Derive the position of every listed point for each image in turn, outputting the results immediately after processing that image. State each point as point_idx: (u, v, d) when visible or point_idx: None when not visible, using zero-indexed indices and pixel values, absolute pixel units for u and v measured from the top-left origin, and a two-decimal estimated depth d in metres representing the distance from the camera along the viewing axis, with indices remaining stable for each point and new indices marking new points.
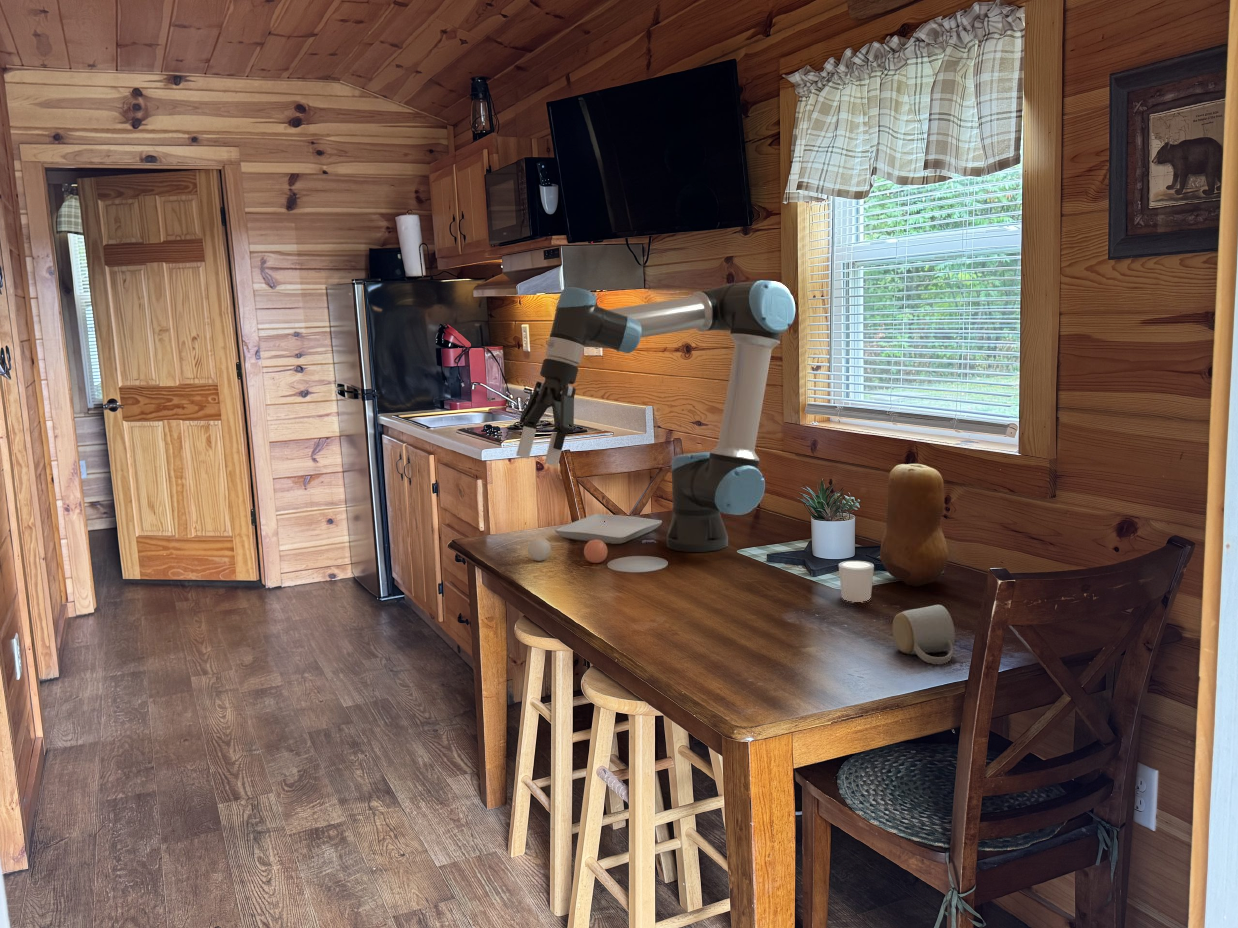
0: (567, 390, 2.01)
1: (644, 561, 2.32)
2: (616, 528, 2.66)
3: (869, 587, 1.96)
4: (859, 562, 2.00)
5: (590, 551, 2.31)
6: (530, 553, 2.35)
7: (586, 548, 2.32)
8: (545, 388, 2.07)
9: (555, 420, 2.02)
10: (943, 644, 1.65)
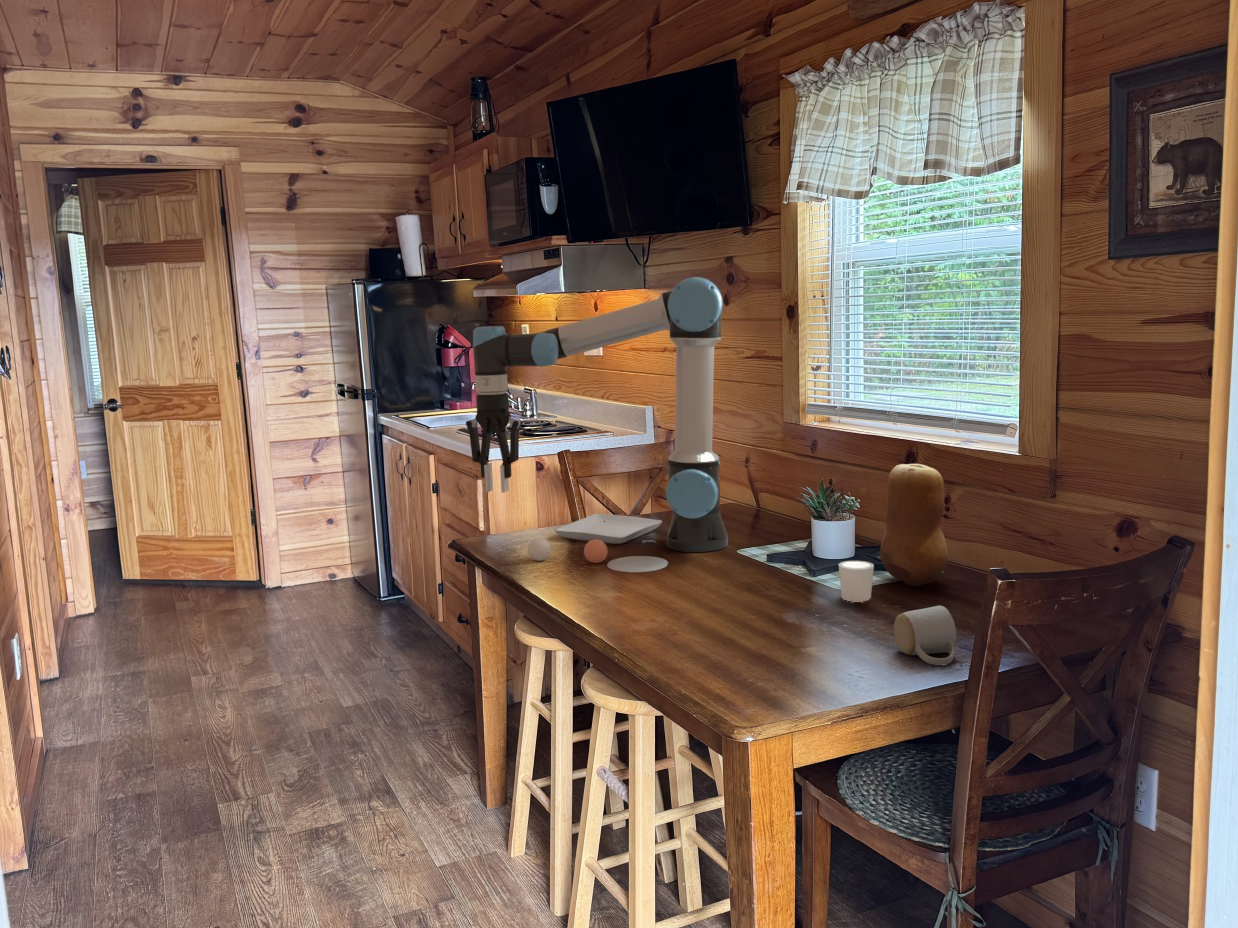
0: (517, 425, 2.33)
1: (644, 561, 2.32)
2: (616, 528, 2.66)
3: (869, 587, 1.96)
4: (859, 562, 2.00)
5: (590, 551, 2.31)
6: (530, 553, 2.35)
7: (586, 548, 2.32)
8: (486, 419, 2.33)
9: (502, 452, 2.34)
10: (945, 645, 1.64)
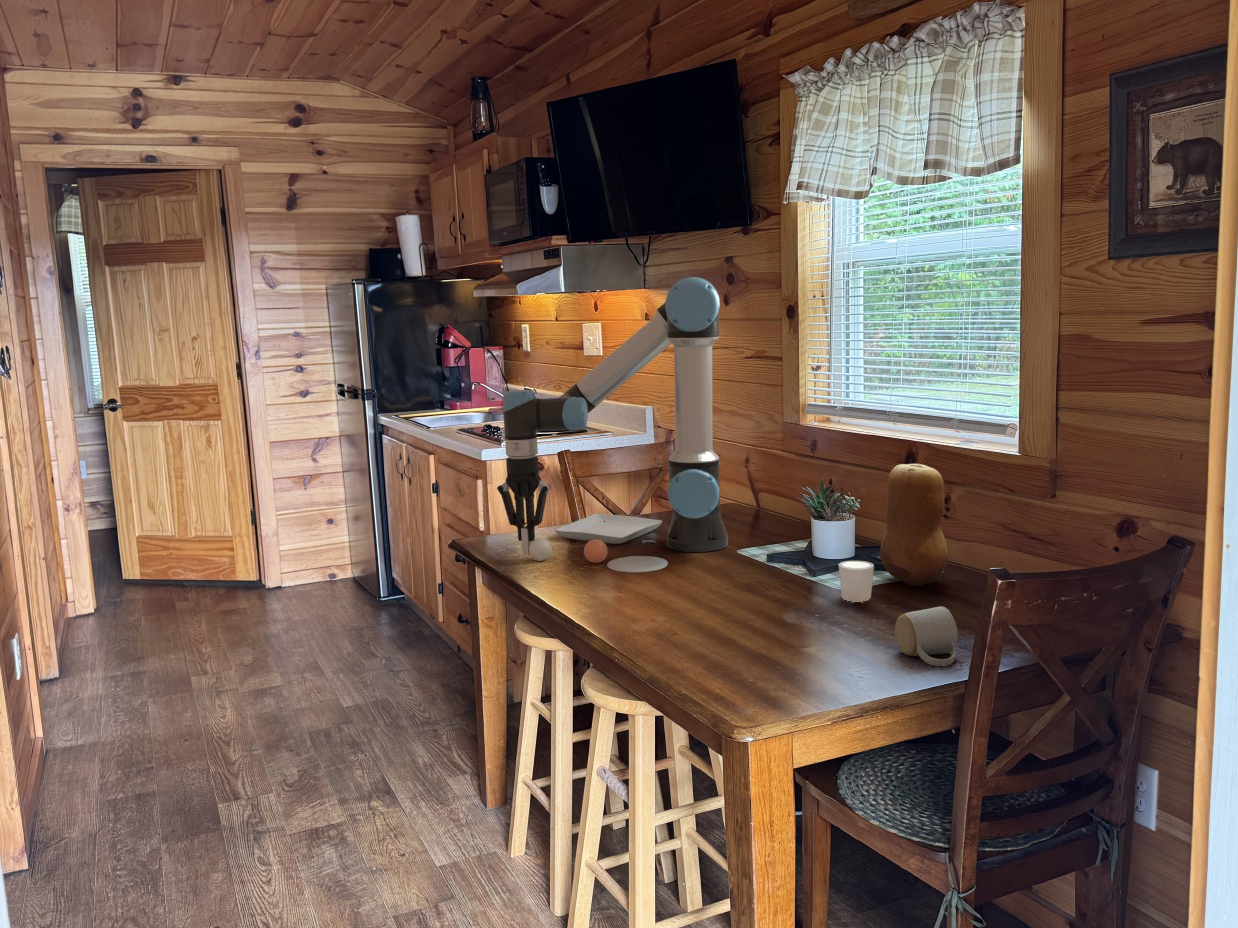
0: (546, 491, 2.33)
1: (644, 561, 2.32)
2: (616, 528, 2.66)
3: (869, 587, 1.96)
4: (859, 562, 2.00)
5: (590, 551, 2.31)
6: (531, 553, 2.35)
7: (586, 548, 2.32)
8: (516, 482, 2.34)
9: (527, 516, 2.35)
10: (946, 646, 1.64)
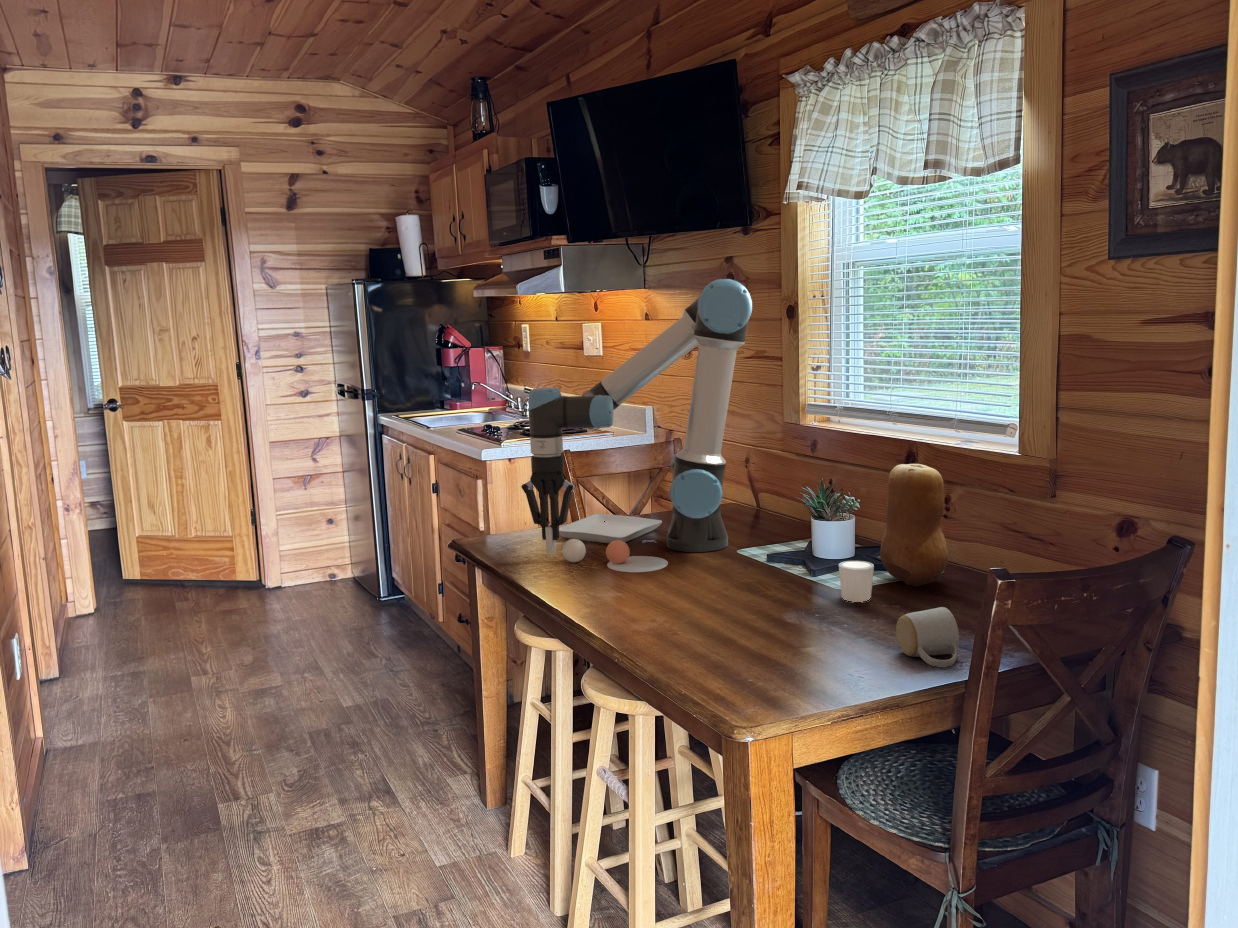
0: (572, 490, 2.32)
1: (644, 561, 2.32)
2: (616, 528, 2.66)
3: (869, 587, 1.96)
4: (859, 562, 2.00)
5: (617, 554, 2.29)
6: (575, 548, 2.32)
7: (622, 549, 2.29)
8: (541, 480, 2.32)
9: (552, 514, 2.33)
10: (947, 647, 1.63)
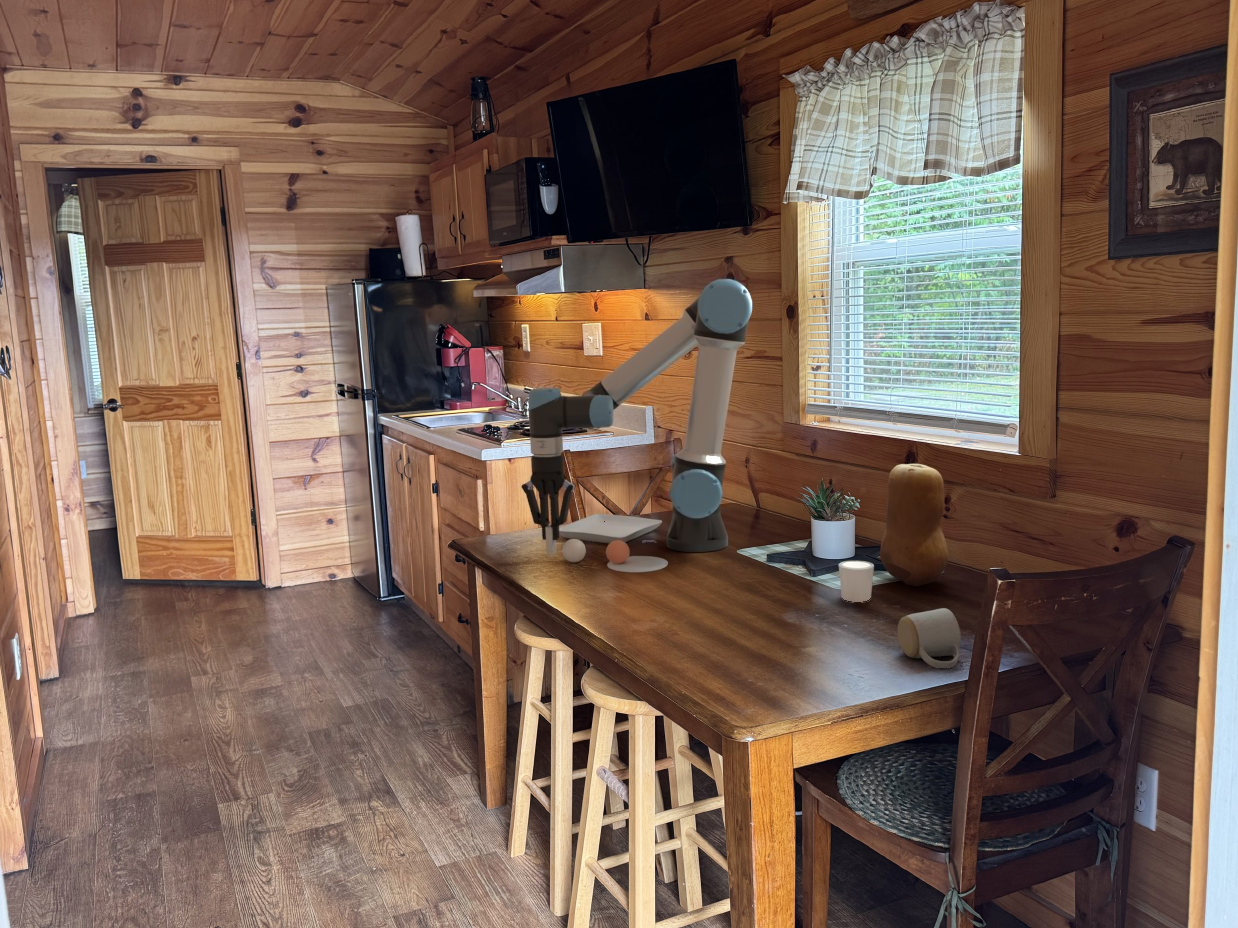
0: (572, 490, 2.32)
1: (644, 561, 2.32)
2: (616, 528, 2.66)
3: (869, 587, 1.96)
4: (859, 562, 2.00)
5: (617, 554, 2.29)
6: (575, 548, 2.32)
7: (622, 549, 2.29)
8: (541, 480, 2.32)
9: (552, 514, 2.33)
10: (949, 648, 1.63)
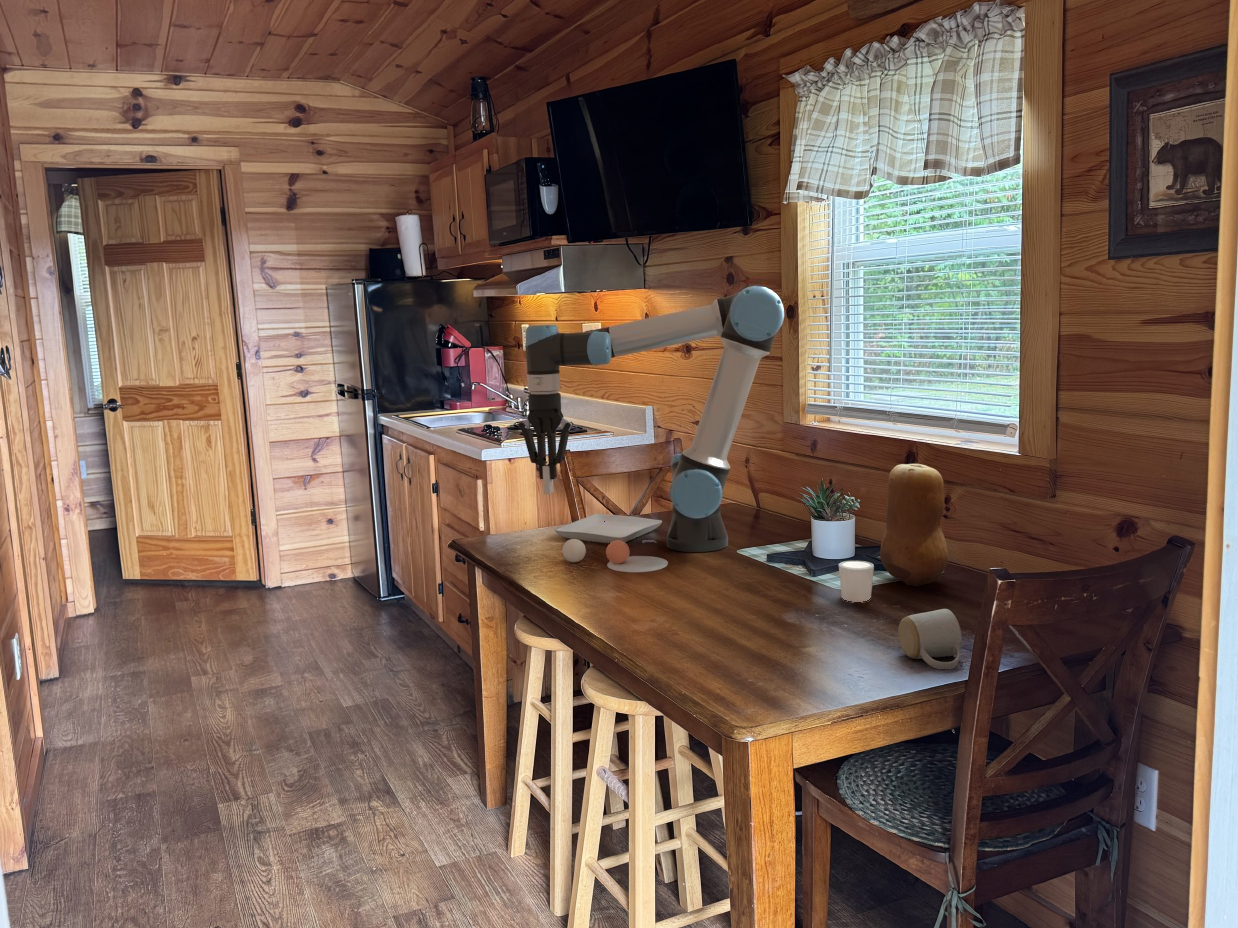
0: (569, 428, 2.29)
1: (644, 561, 2.32)
2: (616, 528, 2.66)
3: (869, 587, 1.96)
4: (859, 562, 2.00)
5: (617, 554, 2.29)
6: (575, 548, 2.32)
7: (622, 549, 2.29)
8: (538, 418, 2.30)
9: (549, 453, 2.31)
10: (950, 649, 1.62)
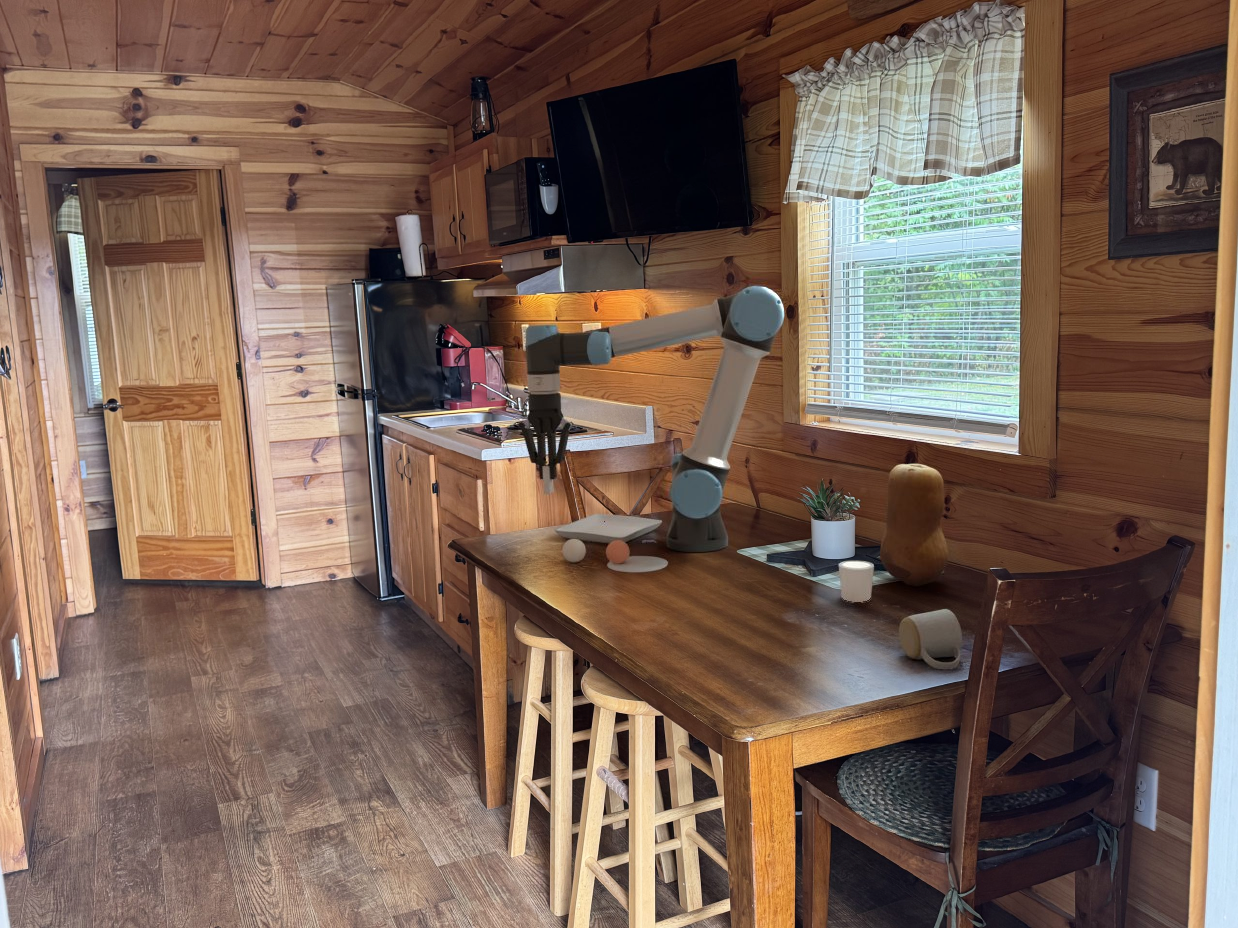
0: (569, 428, 2.29)
1: (644, 561, 2.32)
2: (616, 528, 2.66)
3: (869, 587, 1.96)
4: (859, 562, 2.00)
5: (617, 554, 2.29)
6: (575, 548, 2.32)
7: (622, 549, 2.29)
8: (538, 418, 2.30)
9: (549, 453, 2.31)
10: (950, 649, 1.62)
